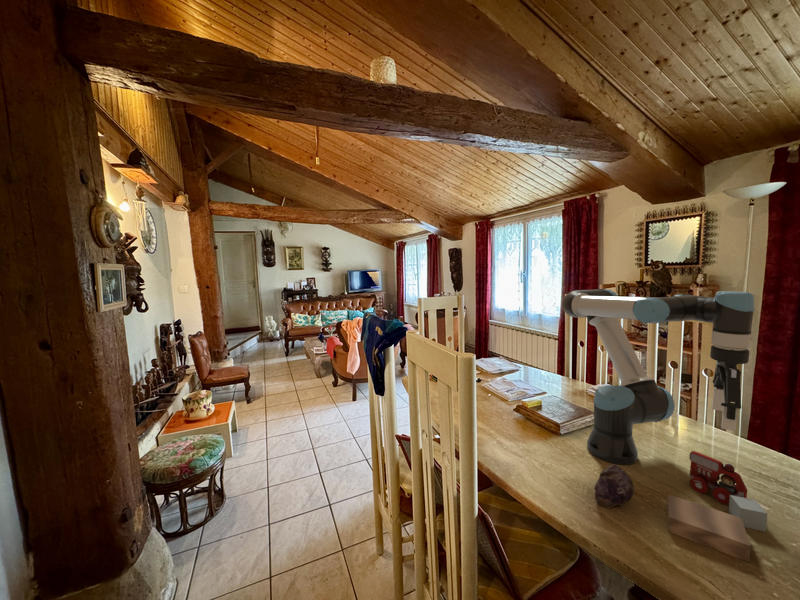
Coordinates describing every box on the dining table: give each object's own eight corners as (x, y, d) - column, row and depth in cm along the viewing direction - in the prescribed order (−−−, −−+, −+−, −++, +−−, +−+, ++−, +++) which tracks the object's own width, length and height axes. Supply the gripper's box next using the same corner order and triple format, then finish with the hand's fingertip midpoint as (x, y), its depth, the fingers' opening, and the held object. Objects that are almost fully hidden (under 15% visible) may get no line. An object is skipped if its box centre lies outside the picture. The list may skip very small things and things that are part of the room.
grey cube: (739, 526, 82) (740, 507, 81) (728, 512, 86) (729, 494, 86) (765, 531, 80) (767, 513, 79) (753, 517, 84) (755, 499, 84)
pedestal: (668, 531, 81) (669, 517, 80) (667, 507, 88) (668, 494, 88) (749, 562, 72) (750, 546, 72) (740, 532, 80) (741, 517, 79)
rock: (588, 504, 92) (630, 522, 85) (587, 479, 91) (630, 495, 83) (599, 479, 100) (639, 494, 93) (598, 455, 98) (638, 468, 91)
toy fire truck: (740, 512, 86) (743, 476, 85) (682, 485, 97) (684, 453, 96) (749, 502, 89) (752, 468, 88) (693, 477, 100) (695, 446, 99)
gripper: (763, 360, 77) (754, 443, 79) (738, 339, 97) (731, 405, 99) (720, 356, 81) (713, 434, 84) (704, 336, 101) (698, 400, 103)
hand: (723, 419), depth 91 cm, fingers open, 13 cm apart
